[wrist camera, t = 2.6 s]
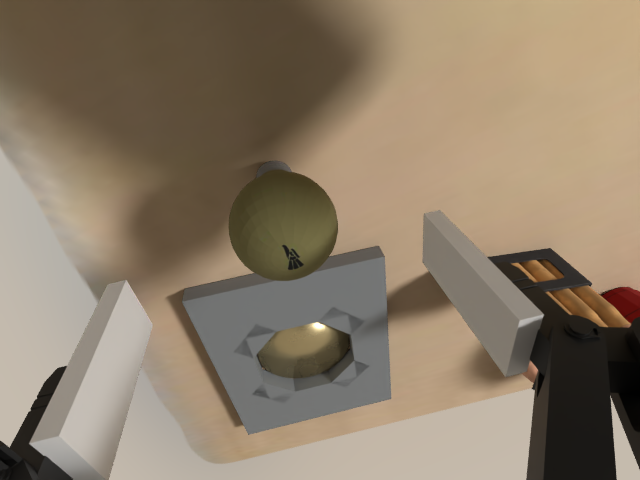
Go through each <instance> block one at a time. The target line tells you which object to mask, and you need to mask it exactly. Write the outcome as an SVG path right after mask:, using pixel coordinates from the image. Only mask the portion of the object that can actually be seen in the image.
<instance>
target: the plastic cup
mask: <svg viewBox="0 0 640 480" xmlns="http://www.w3.org/2000/svg"><path fill="white" fill-rule="evenodd" d="M601 297H603V298H604V299H605V300H606V301H608V302H609V303H610V304H611V305H612V306H614V307H615V308H616V309H617V310H618V311H619V313H620V314H621V315H622V316H623V317H624V318H625V319H626V320H627V321H628V322H629V323H630V324H632V322H633V320H634V319H635V318H637V317H640V292H639V291H637V290H633V289H632V288H630V287H620V288H617V289H613V290H611V291H609V292H607V293H605V294H604V295H602V296H601Z"/></svg>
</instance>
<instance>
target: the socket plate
mask: <svg viewBox="0 0 640 480" xmlns="http://www.w3.org/2000/svg"><path fill="white" fill-rule="evenodd" d="M182 303H183V305H184V307H185V309H186V311H187V313H188V315H189V317H190V319H191V321H192V323H193V325H194V327H195V329H196V331H197V333H198V335H199V337H200V339H201V341H202V343H203V345H204V347H205V349H206V351H207V353H208V355H209V357H210V359H211V361H212V363H213V365H214V367H215V369H216V371H217V373H218V375H219V377H220V379H221V381H222V383H223V385H224V387H225V389H226V391H227V393H228V395H229V397H230V399H231V401H232V403H233V405H234V407H235V409H236V411H237V413H238V415H239V417H240V419H241V421H242V423H243V425H244V427H245V429H246V431H247V433H248V435H249V434H253V433H257V432H261V431H265V430H269V429H273V428H277V427H281V426H285V425H289V424H293V423H297V422H301V421H305V420H309V419H313V418H317V417H321V416H325V415H329V414H333V413H337V412H341V411H345V410H349V409H353V408H357V407H361V406H365V405H369V404H373V403H377V402H381V401H384V400H388V399H391V383H390V361H389V340H388V318H387V296H386V275H385V256H384V254H383V253H382V251H381V249H380V247H379V246H376V247H372V248H367V249H363V250H358V251H354V252H349V253H345V254H340V255H336V256H331V257H328V259H327V260H326V261H325V262H324V263H323V265H322V266H321V267H320V268H319V269H317V270H316V271H314V272H313V273H311V274H309V275H308V276H306V277H303V278H300V279H297V280H291V281H276V280H270V279H267V278H264V277H262V276H260V275H258V274H256V273H254V274H250V275H245V276H241V277H236V278H232V279H227V280H222V281H218V282H213V283H209V284H204V285H200V286H195V287H191V288H186V289H185V290H184V294H183V299H182ZM348 334H349V338H348ZM349 340H350V347H351V348H350V349H349V350H348V351H347V349H348V345H349ZM346 351H347V352H346ZM257 353H258V356H257ZM258 357H259V359H258ZM260 363H261V364H262V366H263V367H264V368H265V369H266V370H268V371H266V370H263V369H262V367H261V364H260ZM327 370H328V371H327ZM292 378H295V379H292Z"/></svg>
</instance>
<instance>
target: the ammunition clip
mask: <svg viewBox="0 0 640 480" xmlns="http://www.w3.org/2000/svg"><path fill="white" fill-rule="evenodd" d="M487 258H488V259H489V260H490V261H491V262H492V263H493V264H495V263H499V262H504V261H506V262H508V263H510V264H512V265H514V266H516V267H518V268H520V269H521V270H522V271H523V272H524V273H525V274H526V275H527V276H528V277H529V279H531V280H532V281H534V282H535V283H536V284H537V286H539V287H540V288H541V289H542V290H543V291H544V292H545V293H547V294H548V295H549V296H550V297H551V298H552V299H553V300H554V301H555V302H556V303H557V304H558V305H559V306H561V307H562V308H563V309H564V310H565V311H566V312H567V313H568V314H570V315H578V316H581V317H584V318H587V319H589V320H591V321H593V322H594V323H596V324H597V325H598V326H600V327H628V328H629V327H630V326H631V324H630V323H629V322H628V321H627V320H626V319H625V318H624V317H623V316H622V315H621V314H620V313H619V311H618V310H617V309H616V308H615V307H614V306H612V305H611V304H610V303H609V302H608V301H606V300H605V299H604V298H603V297H601V296H600V295H599V294H598V293H597V292H595V291H594V290H593V289H592V288H591V287H589V286H591V285H592V283H591V282H590V281H589V280H587V279H586V278H585V277H584V276H583V275H582V274H580V273H579V272H578V271H577V270H576V269H574V268H573V267H572V266H571V265H570V264H569V263H567V262H566V261H565V260H564V259H563V258H561V257H560V256H559V255H558V254H557V253H556V252H554V251H553V250H552V249H551V248H548V249H541V250H534V251H527V252H520V253H513V254H506V255H500V256H493V257H487ZM588 285H589V286H588ZM537 372H538V370H537V368H536V367H535V365H534V364H533V363H532V362H531V361H530V363H529V366H528V369H527V372H524V373H522V374H523V375H524V376H525V377H527V378H528V379H529V380H530V381H531V382H533V383H534V381H535V378H536V375H537Z"/></svg>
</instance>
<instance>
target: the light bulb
mask: <svg viewBox="0 0 640 480" xmlns="http://www.w3.org/2000/svg"><path fill="white" fill-rule="evenodd" d="M337 233H338V221H337V215H336V211H335V208H334V205H333V203H332V201H331V200H330V198H329V196H328V195H327V193H326V192H325V191H324V190H323V189H322V188H321V187H320V186H319V185H318V184H317V183H315V182H314V181H313V180H311V179H310V178H308V177H306V176H304V175H301V174H298V173H294V172H292V171H291V169H290V168H289V167H288V166H287V165H286V164H285V163H283V162H280V161H269V162H266V163H265V164H263V165H262V166H261V167H260V168H259V169H258V171H257V175H256V179H254V180H253V181H251V182H250V183H249V184H247V185H246V186H245V187H244V188H243V190H242V191H241V192H240V193H239V195H238V196H237V198H236V200H235V201H234V203H233V206H232V209H231V212H230V216H229V236H230V240H231V244H232V246H233V249H234V251H235V252H236V254H237V256H238V258H239V259H240V260H241V261H242V262H243V264H244V265H245V266H246V267H247V268H249V269H250V270H251V271H253V272H254V273H256V274H258V275H260V276H262V277H264V278H267V279H270V280H276V281H291V280H297V279H300V278H303V277H306V276H308V275H309V274H311V273H313V272H314V271H316V270H317V269H319V268H320V267H321V266H322V265H323V263H324V262H325V261H326V260H327V259H328V257H329V255H330V254H331V252H332V250H333V248H334V245H335V243H336V238H337Z"/></svg>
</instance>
